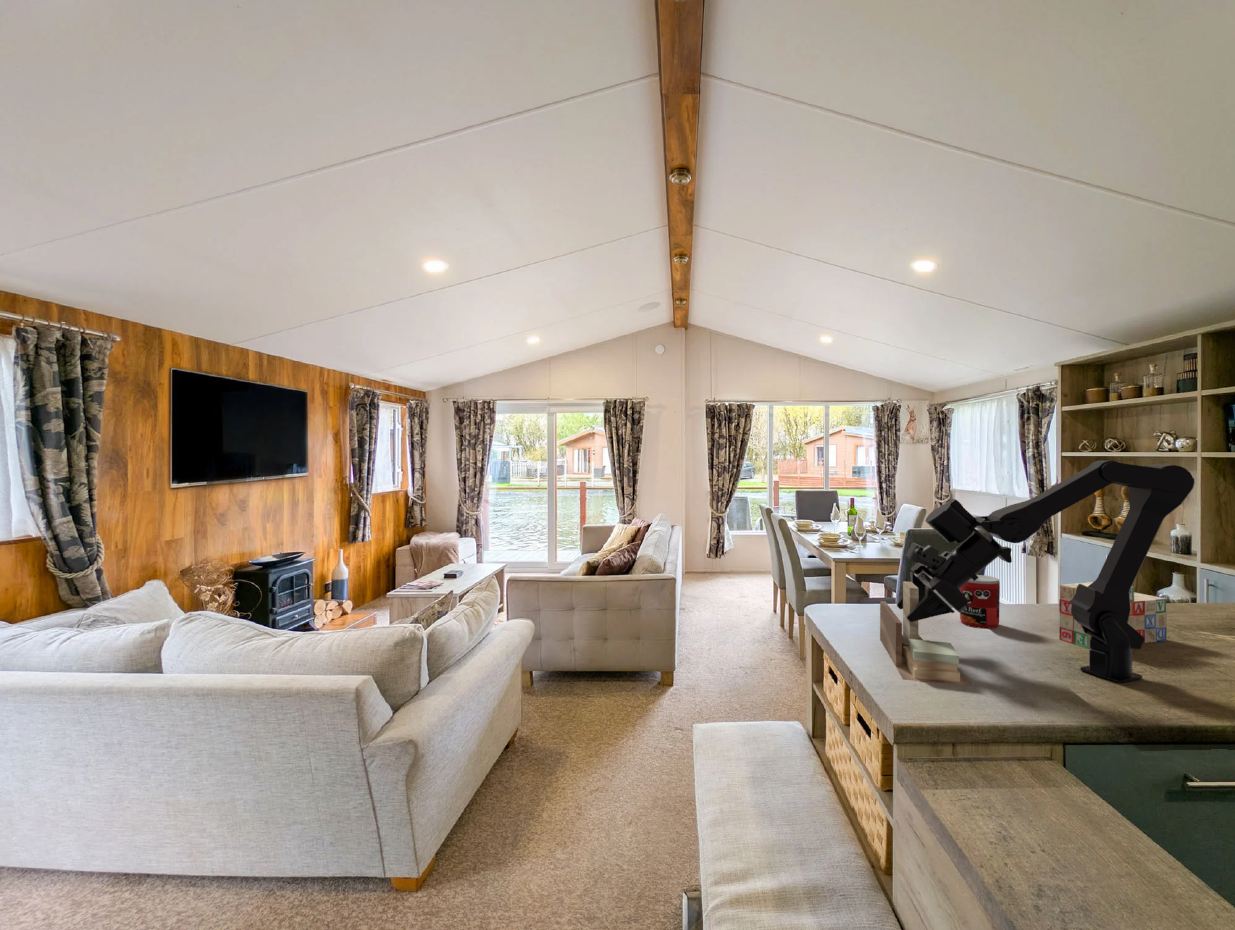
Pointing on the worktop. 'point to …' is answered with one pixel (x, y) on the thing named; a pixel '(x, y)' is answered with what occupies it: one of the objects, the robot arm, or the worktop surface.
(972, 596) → the canned food
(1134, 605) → the stack of blocks
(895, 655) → the offcut rack
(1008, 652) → the worktop surface
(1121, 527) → the robot arm
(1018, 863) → the worktop surface
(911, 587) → the birch board
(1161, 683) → the worktop surface
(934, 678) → the offcut stack
